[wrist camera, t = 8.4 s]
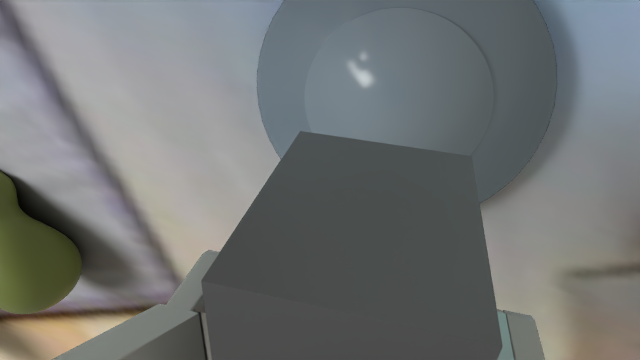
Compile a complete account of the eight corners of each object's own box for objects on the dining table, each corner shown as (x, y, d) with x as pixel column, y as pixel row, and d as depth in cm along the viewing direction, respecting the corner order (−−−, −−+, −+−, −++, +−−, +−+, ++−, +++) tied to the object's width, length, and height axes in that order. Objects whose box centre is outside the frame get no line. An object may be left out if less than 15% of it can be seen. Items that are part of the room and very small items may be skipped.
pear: (4, 341, 26) (-111, 215, 25) (75, 289, 31) (-19, 180, 29) (41, 315, 24) (-86, 172, 22) (112, 262, 28) (11, 141, 27)
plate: (260, -72, 16) (248, -72, 15) (602, -53, 14) (614, -51, 13) (267, 189, 22) (260, 202, 21) (502, 229, 20) (506, 244, 19)
